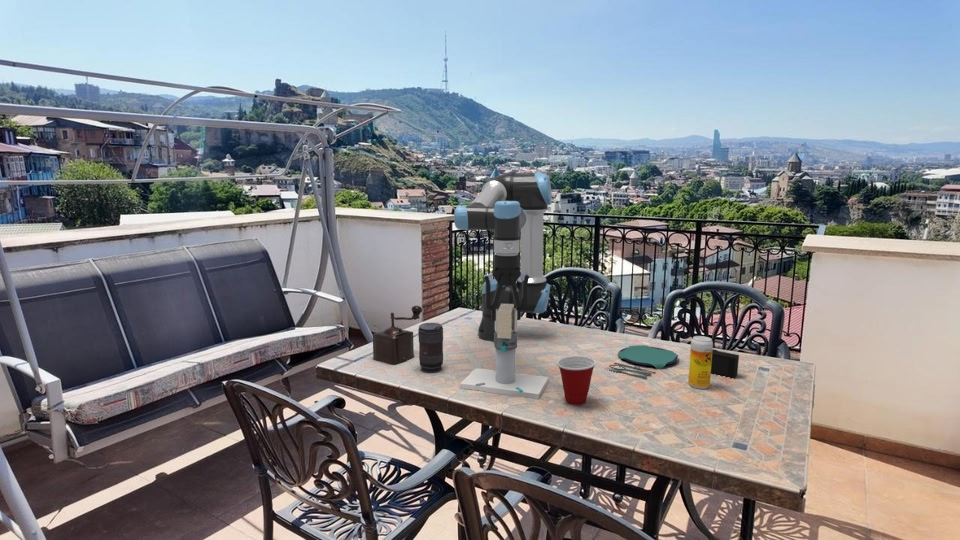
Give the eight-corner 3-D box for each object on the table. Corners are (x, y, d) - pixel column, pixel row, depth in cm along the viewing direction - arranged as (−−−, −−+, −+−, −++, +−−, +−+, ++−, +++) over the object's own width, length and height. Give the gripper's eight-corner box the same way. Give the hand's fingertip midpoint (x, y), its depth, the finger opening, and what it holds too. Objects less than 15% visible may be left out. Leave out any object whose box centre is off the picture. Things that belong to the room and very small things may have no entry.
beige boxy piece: (496, 340, 163) (496, 303, 161) (518, 341, 162) (518, 304, 160) (490, 354, 151) (491, 313, 149) (515, 355, 150) (515, 314, 148)
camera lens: (414, 371, 172) (413, 326, 169) (427, 363, 179) (427, 321, 176) (435, 375, 168) (434, 330, 165) (448, 367, 175) (447, 324, 172)
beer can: (700, 391, 156) (703, 342, 153) (683, 384, 161) (687, 337, 158) (714, 387, 158) (717, 339, 156) (697, 380, 164) (700, 334, 161)
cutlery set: (686, 358, 185) (686, 352, 185) (651, 383, 163) (651, 376, 163) (633, 347, 198) (633, 341, 198) (594, 369, 176) (594, 363, 175)
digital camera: (738, 374, 169) (740, 353, 168) (734, 379, 165) (736, 358, 164) (705, 367, 176) (706, 347, 175) (700, 371, 172) (701, 351, 171)
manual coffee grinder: (395, 365, 176) (394, 314, 173) (372, 359, 183) (370, 309, 180) (425, 353, 189) (424, 305, 186) (403, 348, 195) (402, 301, 192)
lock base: (475, 372, 170) (475, 337, 168) (548, 381, 163) (549, 344, 161) (460, 388, 157) (459, 350, 155) (538, 399, 149) (539, 359, 147)
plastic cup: (553, 393, 154) (554, 354, 152) (590, 393, 153) (592, 354, 151) (557, 409, 143) (559, 367, 141) (597, 409, 143) (599, 367, 141)
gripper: (477, 256, 149) (477, 335, 152) (539, 255, 150) (537, 333, 154) (475, 252, 156) (474, 328, 160) (534, 252, 158) (532, 326, 162)
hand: (505, 330), depth 157 cm, fingers closed on beige boxy piece, 5 cm apart
